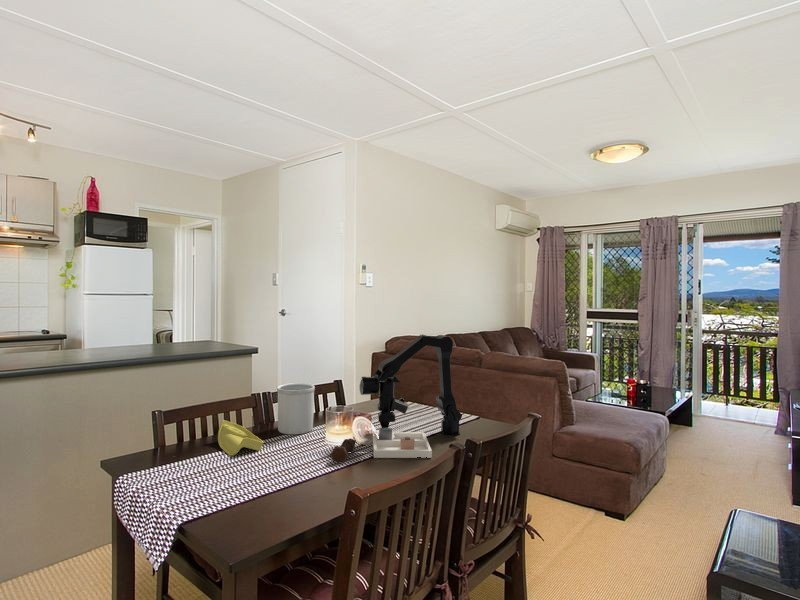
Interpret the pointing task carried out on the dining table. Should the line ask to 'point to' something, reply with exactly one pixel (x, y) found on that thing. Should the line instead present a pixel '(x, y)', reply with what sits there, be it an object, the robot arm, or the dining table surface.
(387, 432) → the grey cylinder
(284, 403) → the utensil holder
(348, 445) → the dark brown dumbbell
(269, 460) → the dining table surface
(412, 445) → the pink cube
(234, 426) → the plastic component
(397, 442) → the white flat rectangular tray
